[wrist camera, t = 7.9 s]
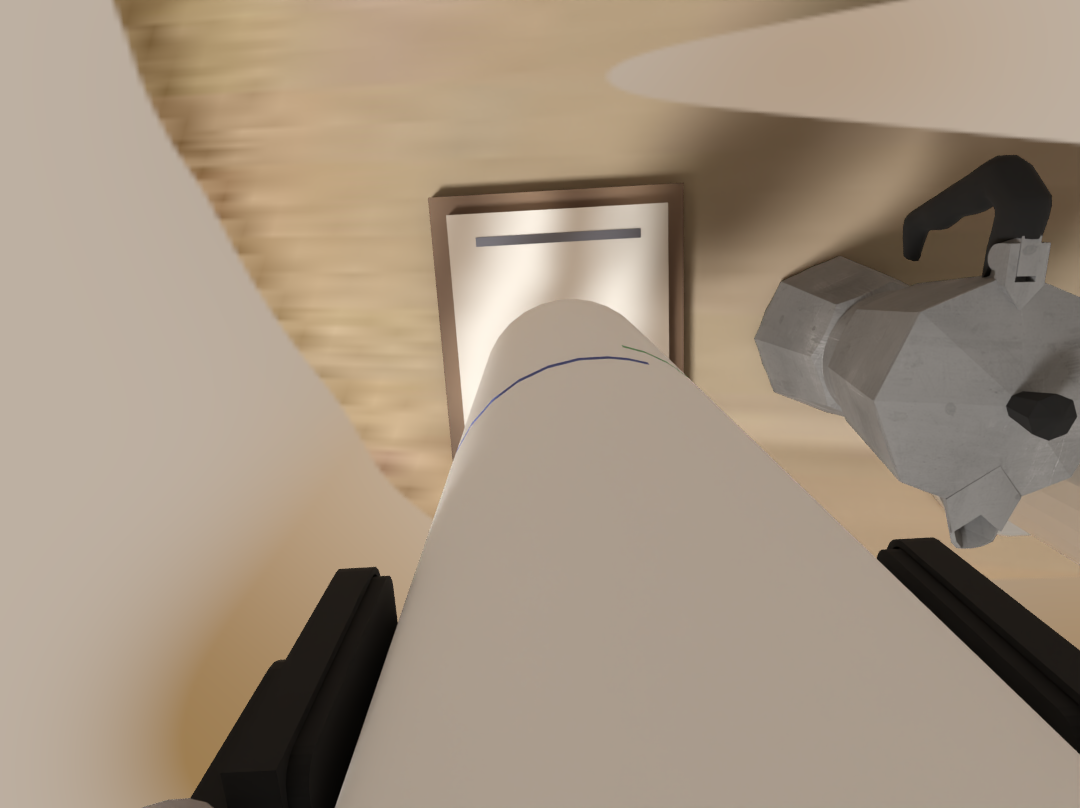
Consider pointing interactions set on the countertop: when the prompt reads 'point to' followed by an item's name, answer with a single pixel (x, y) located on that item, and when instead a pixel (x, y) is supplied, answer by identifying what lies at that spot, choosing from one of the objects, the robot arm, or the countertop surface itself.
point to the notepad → (553, 269)
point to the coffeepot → (946, 356)
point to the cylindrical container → (667, 619)
